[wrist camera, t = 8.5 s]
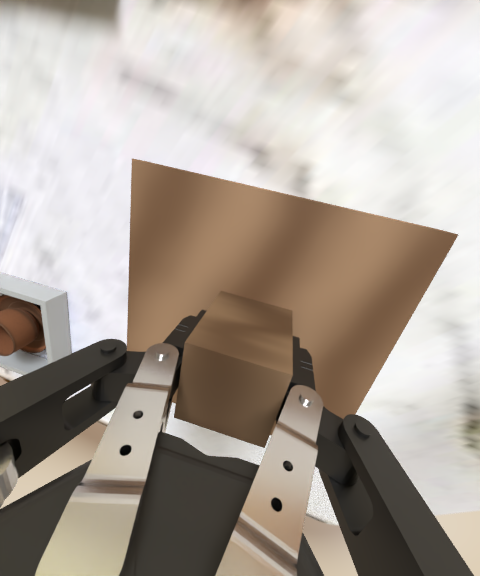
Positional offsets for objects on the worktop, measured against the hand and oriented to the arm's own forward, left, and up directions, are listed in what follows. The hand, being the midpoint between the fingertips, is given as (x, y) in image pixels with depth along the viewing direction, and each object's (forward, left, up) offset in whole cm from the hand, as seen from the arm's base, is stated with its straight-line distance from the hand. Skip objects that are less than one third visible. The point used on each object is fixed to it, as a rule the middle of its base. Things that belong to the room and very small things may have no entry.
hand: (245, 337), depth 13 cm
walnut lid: (0, 0, -2) cm, 2 cm away
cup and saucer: (+41, +25, -22) cm, 52 cm away
